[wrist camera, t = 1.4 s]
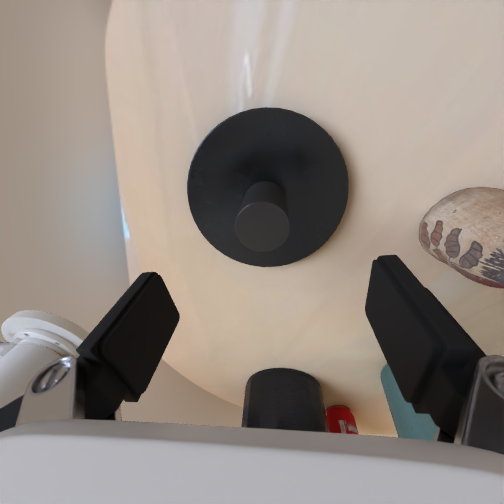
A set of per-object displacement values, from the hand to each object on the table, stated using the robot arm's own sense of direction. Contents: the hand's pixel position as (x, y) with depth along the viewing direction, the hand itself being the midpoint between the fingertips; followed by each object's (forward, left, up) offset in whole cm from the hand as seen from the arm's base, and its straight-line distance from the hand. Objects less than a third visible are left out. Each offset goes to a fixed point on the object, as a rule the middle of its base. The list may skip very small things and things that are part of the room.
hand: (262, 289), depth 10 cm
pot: (+17, -32, -13) cm, 39 cm away
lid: (0, 0, -13) cm, 13 cm away
